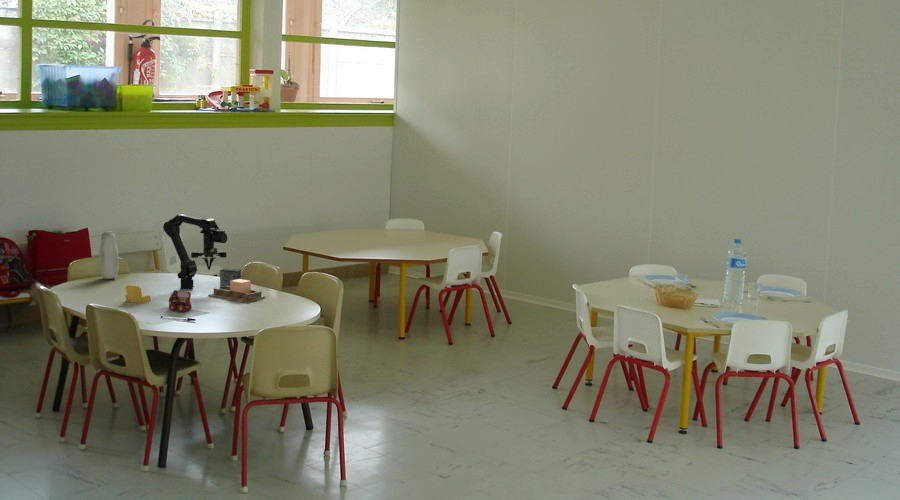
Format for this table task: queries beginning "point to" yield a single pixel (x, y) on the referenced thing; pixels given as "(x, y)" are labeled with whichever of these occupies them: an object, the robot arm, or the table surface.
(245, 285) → the slider block
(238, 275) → the small box
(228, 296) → the tray
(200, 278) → the table surface
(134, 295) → the yellow l-shaped block
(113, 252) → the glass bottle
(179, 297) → the toy fire truck
